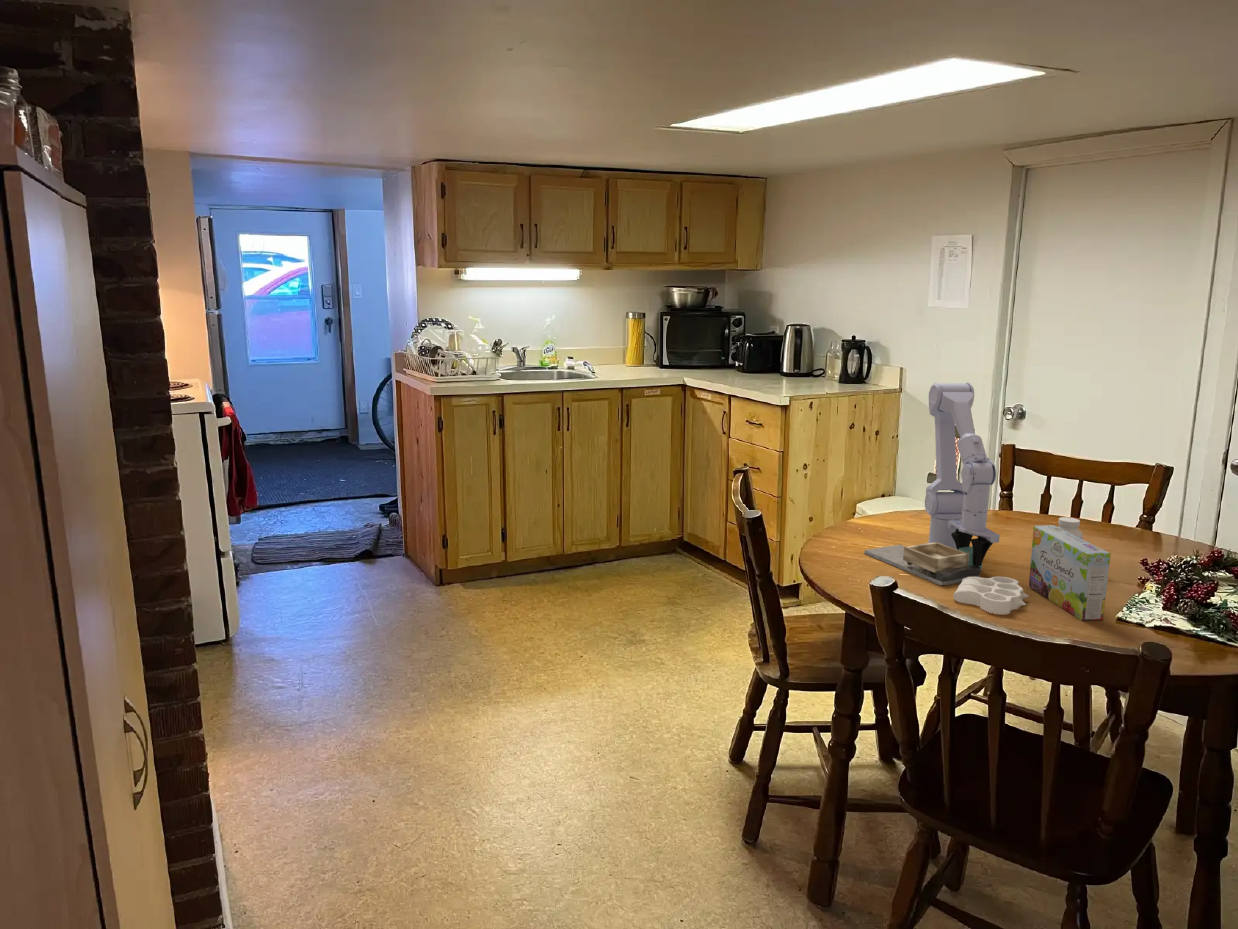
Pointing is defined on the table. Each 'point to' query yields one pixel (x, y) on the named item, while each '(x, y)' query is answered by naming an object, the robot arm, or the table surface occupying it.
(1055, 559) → the snack box
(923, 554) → the brown open box
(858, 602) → the table surface
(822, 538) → the table surface
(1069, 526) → the supplement bottle
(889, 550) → the rail board
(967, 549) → the block
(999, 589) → the white paw tray
